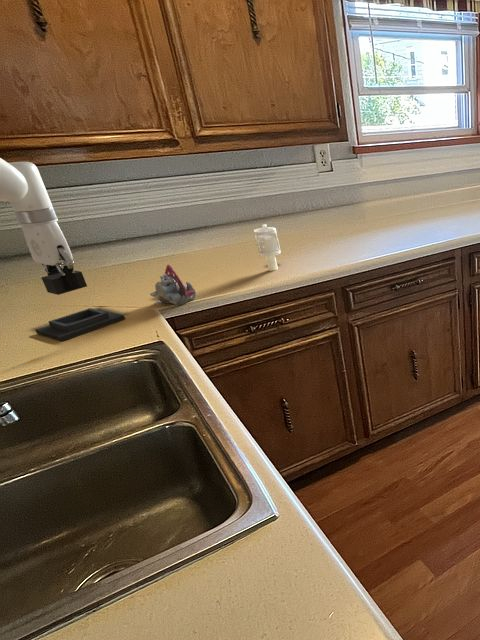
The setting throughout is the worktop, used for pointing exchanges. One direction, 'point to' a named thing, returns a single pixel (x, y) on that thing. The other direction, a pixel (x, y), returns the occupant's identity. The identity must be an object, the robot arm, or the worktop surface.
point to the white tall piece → (268, 245)
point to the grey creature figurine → (173, 289)
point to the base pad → (79, 323)
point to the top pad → (56, 285)
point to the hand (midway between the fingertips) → (66, 287)
